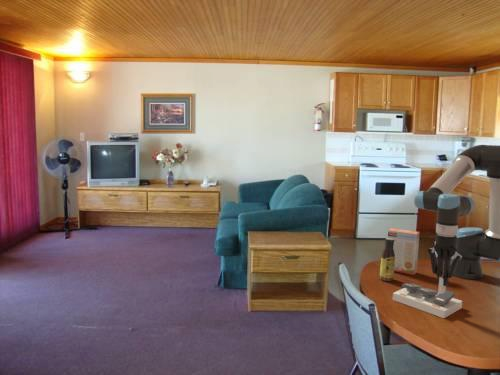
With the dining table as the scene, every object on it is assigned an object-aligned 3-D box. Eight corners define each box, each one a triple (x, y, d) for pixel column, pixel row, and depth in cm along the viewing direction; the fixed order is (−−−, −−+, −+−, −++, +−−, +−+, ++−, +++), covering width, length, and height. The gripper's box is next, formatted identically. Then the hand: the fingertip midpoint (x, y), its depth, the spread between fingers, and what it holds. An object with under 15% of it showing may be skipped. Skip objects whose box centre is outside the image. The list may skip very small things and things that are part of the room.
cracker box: (416, 272, 217) (420, 231, 214) (414, 275, 212) (417, 234, 209) (388, 266, 224) (391, 227, 221) (385, 270, 219) (387, 229, 216)
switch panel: (411, 291, 193) (412, 282, 192) (461, 308, 176) (462, 298, 175) (392, 299, 183) (393, 290, 182) (443, 318, 166) (444, 308, 166)
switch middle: (427, 291, 183) (428, 288, 183) (437, 294, 180) (438, 291, 180) (416, 292, 177) (417, 288, 177) (427, 295, 174) (427, 291, 174)
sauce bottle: (386, 282, 202) (389, 241, 199) (376, 278, 208) (379, 237, 205) (396, 280, 205) (399, 239, 202) (386, 276, 211) (389, 236, 208)
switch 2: (444, 292, 178) (444, 289, 177) (454, 295, 174) (454, 292, 174) (433, 302, 172) (432, 298, 172) (444, 305, 169) (443, 302, 169)
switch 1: (411, 286, 189) (412, 283, 189) (421, 289, 185) (422, 286, 185) (401, 286, 183) (402, 283, 183) (411, 290, 179) (411, 286, 179)
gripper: (425, 232, 170) (421, 289, 174) (458, 239, 160) (453, 300, 164) (434, 229, 175) (430, 285, 179) (468, 236, 165) (462, 295, 169)
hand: (441, 292), depth 171 cm, fingers closed
